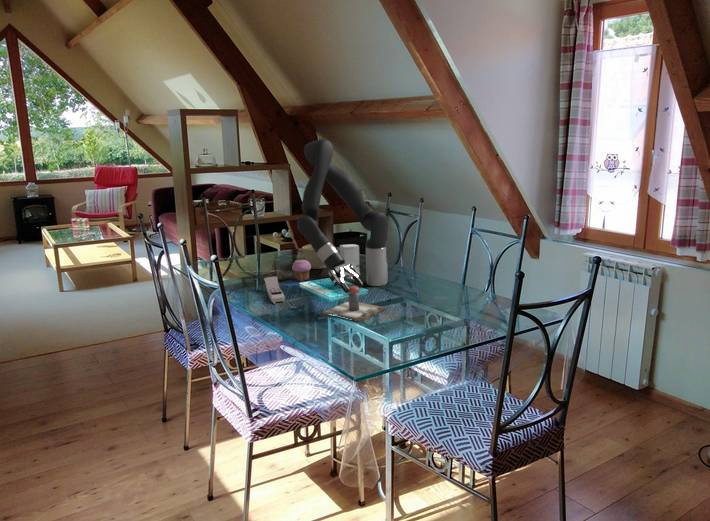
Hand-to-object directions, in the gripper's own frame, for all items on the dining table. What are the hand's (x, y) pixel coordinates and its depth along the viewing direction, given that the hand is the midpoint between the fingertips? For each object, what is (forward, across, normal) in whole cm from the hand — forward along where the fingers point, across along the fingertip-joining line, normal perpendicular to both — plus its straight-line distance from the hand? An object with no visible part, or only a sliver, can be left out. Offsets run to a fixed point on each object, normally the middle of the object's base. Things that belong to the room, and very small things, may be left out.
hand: (355, 289), depth 229 cm
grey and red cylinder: (+6, 0, +6) cm, 8 cm away
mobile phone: (-24, -1, +37) cm, 44 cm away
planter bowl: (-36, +49, +50) cm, 78 cm away
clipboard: (+6, 0, +7) cm, 9 cm away
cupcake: (-29, +25, +42) cm, 57 cm away
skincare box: (-19, +44, +33) cm, 58 cm away
